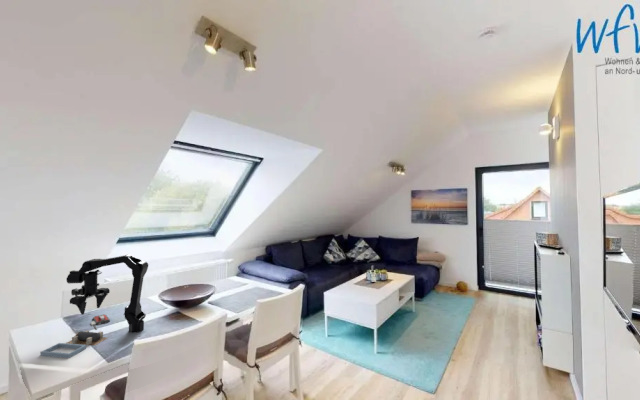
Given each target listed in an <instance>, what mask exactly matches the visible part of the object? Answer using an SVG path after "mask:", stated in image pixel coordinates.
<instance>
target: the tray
mask: <svg viewBox="0 0 640 400" xmlns="http://www.w3.org/2000/svg"><path fill="white" fill-rule="evenodd" d="M58 348H65V349H75V350H73V351H71V352H57V351H55V350H56V349H58ZM86 349H87V345H83V344H70V343H67V342H58V343H56V344H54V345H52V346H49V347H48V348H46V349H44V350H41V351H40V356H41V357H54V358H65V359H66V358H67V359H70V358H72V357H74V356H75V355H77V354H78V353H81V352H82V351H84V350H86Z"/></svg>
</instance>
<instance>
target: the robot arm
mask: <svg viewBox="0 0 640 400" xmlns="http://www.w3.org/2000/svg"><path fill="white" fill-rule="evenodd" d="M119 264H125V266H126V267H128V268H129V269H131V275H132V277H133V281H132V287H131V288H132V289H131V293H130V295H131V296H130V301H129V304H128V305H127V306H125V307H124V313H123V316H124V319H125V320H126V321H127V325H128V332H130V333H132V334H135V333H140V332H142V331H144V330H145V329H144V327H145V318H146V316H147V314H146V313H145V312H143V311H142V304H141V296H142V289H143V283H144V277H145V275H146V273H147V271H148V268H149V263H148V262H147V261H146V260H142V259H141V258H138V257H135V256H133V255H131V254H130V253H128V254H125V255H120V256H114V257H109V258H92V259H89V260H85V261H84V262H83V263H82V265H81V267H80V269H79V270H70V271H69V273H68V274H67V277H66V283H67V284H70V285H71V284H82V283H83V285H82V286H81V288H77V287H76V288H72V289H71V296H73V297H71V298H70V299H69V304H72V305H75V306H76V307H77V308H78V310H79V312H80V314H81V315H85V311H86V307H87V299H90V298H93V297H95V298H96V308H97V309H100V307H101V306H102V303H103V302H104V300H105V298H106V297H107V296H108V294H110V289H109V288H108V287H99V286H100V283H99V282H98V276H99V275H101V274H103V271H100V270H99V269H100V268H102V267H107V266H113V265H119ZM98 287H99V288H98Z"/></svg>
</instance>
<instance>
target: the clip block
mask: <svg viewBox="0 0 640 400" xmlns="http://www.w3.org/2000/svg"><path fill="white" fill-rule="evenodd" d="M83 332H90V330H85V331H83ZM97 333H100V338H99V340H98V341H92V337H89V338H87V339H86V341H85V340H78V336H75V335H74V336H72V337H71V340H69V341H68V342H66V343H67V344H79V345H86V346H96V345H98V344H100V343H101V342H104V341H106V340H108V337H104V331H101V330H100V331H98V332H97Z"/></svg>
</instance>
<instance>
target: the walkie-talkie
mask: <svg viewBox="0 0 640 400" xmlns="http://www.w3.org/2000/svg"><path fill="white" fill-rule="evenodd" d="M110 322H111V320H110V318H109V317H108V316H107V314H98V315H95V316H94V317H92V318H91V322H90V326H91V327H93V329H94V330H95V331H97V330H98V328H97V326H99V325H103V324H104V325H105V324H107V323H110Z"/></svg>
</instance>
